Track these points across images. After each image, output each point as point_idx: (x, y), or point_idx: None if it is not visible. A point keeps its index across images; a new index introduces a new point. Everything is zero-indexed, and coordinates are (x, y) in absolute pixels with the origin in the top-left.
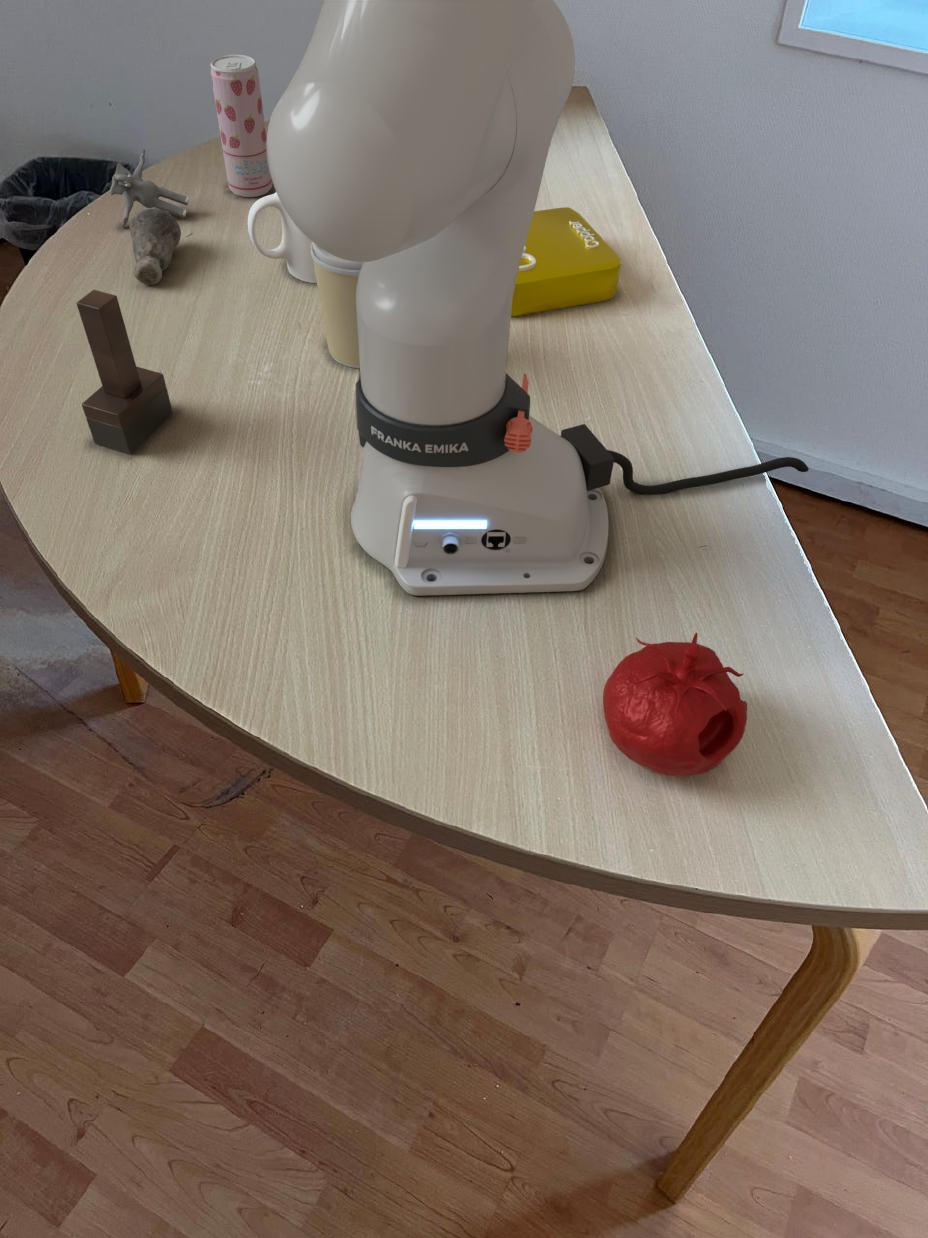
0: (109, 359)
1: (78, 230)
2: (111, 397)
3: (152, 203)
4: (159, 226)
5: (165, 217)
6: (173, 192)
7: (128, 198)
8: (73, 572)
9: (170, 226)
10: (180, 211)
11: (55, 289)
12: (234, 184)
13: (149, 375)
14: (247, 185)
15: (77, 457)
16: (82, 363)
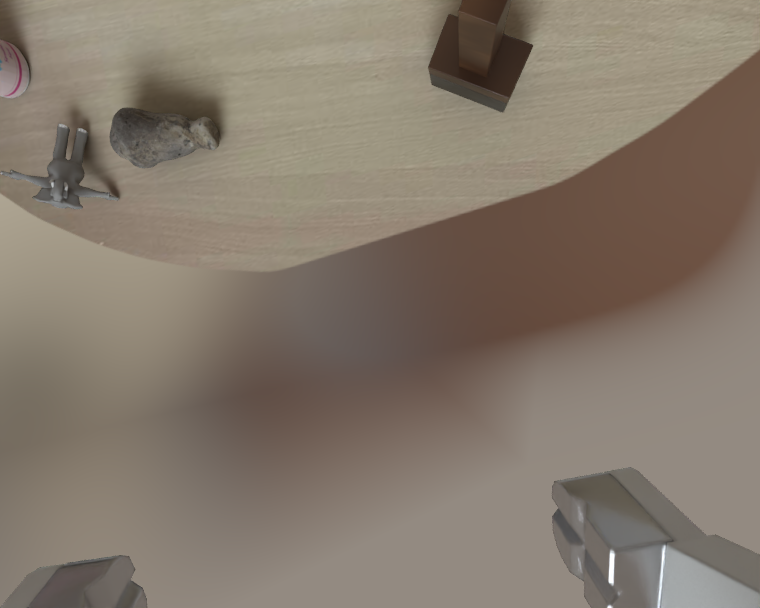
0: (502, 30)
1: (132, 245)
2: (497, 64)
3: (79, 165)
4: (141, 121)
5: (125, 115)
6: (57, 141)
7: (80, 191)
8: (720, 68)
9: (134, 112)
10: (82, 135)
11: (238, 237)
12: (16, 80)
13: (452, 30)
14: (15, 62)
15: (525, 124)
16: (363, 169)
